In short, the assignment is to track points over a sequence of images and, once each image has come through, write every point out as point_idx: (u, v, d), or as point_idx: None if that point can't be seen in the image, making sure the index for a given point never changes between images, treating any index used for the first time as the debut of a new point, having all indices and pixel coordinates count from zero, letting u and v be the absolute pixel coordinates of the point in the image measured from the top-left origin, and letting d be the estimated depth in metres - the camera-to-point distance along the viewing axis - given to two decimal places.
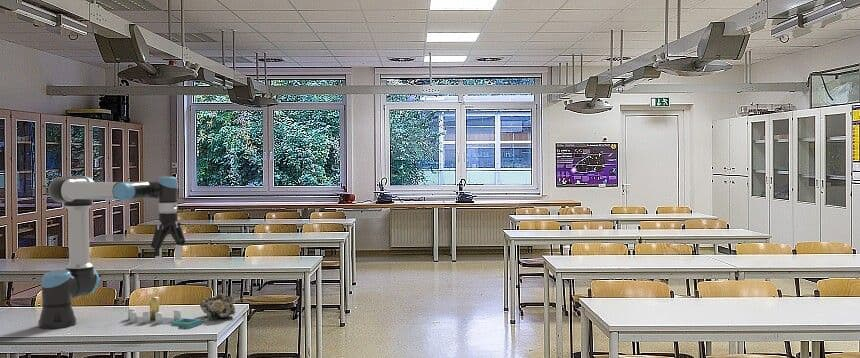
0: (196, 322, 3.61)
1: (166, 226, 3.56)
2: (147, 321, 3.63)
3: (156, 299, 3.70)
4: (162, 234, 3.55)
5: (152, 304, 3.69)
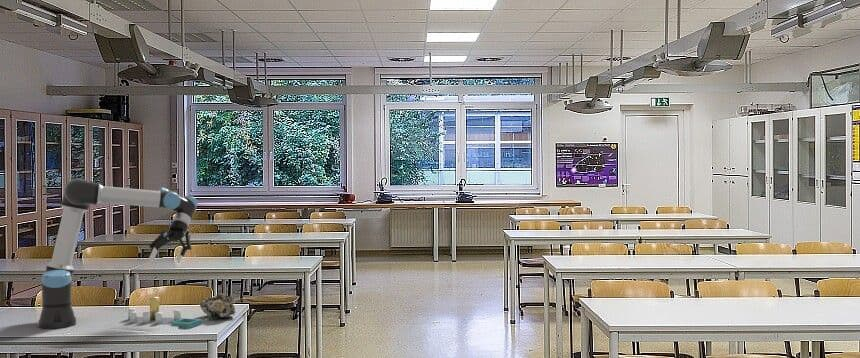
0: (196, 322, 3.61)
1: None
2: (147, 321, 3.63)
3: (156, 299, 3.70)
4: None
5: (152, 304, 3.69)
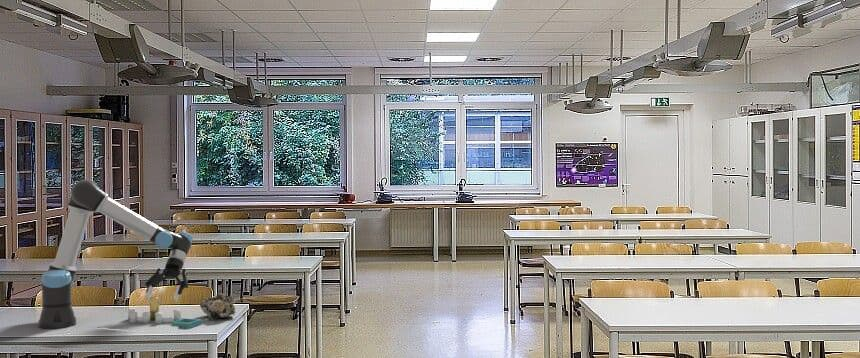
0: (196, 322, 3.61)
1: None
2: (147, 321, 3.63)
3: (156, 299, 3.70)
4: None
5: (152, 304, 3.69)
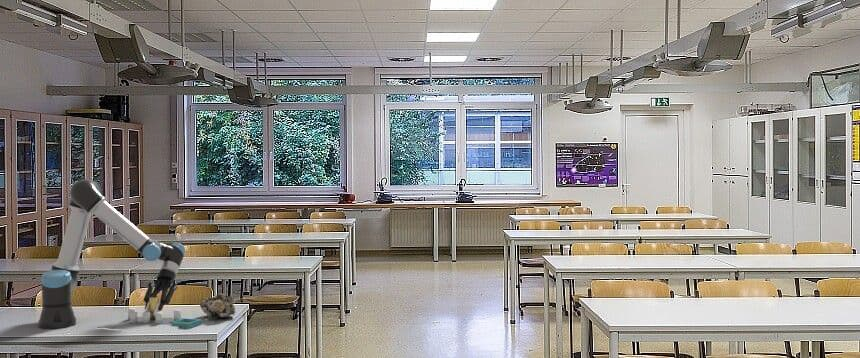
0: (196, 322, 3.61)
1: None
2: (147, 321, 3.63)
3: (156, 299, 3.70)
4: (166, 291, 3.76)
5: (152, 304, 3.69)
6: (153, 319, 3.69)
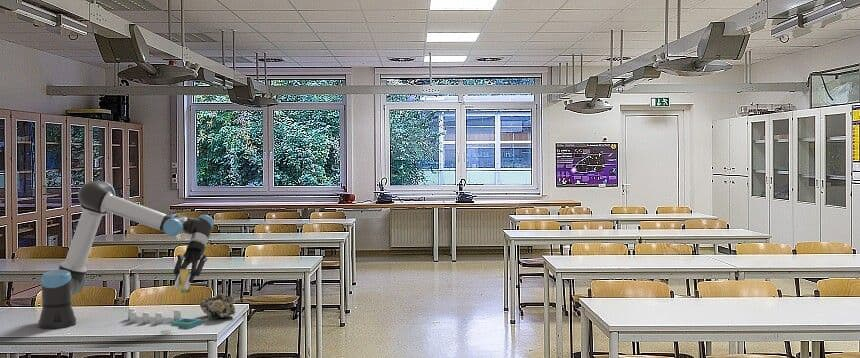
0: (196, 322, 3.61)
1: None
2: (147, 321, 3.63)
3: (186, 271, 3.61)
4: (196, 263, 3.67)
5: (183, 276, 3.60)
6: (184, 291, 3.61)
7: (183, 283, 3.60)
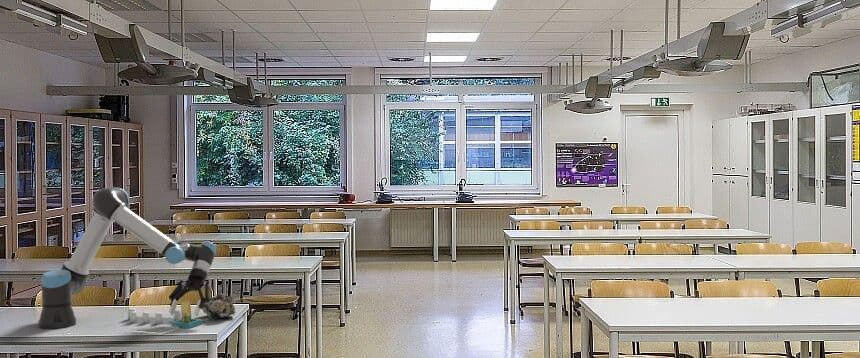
0: (196, 322, 3.61)
1: None
2: (147, 321, 3.63)
3: (188, 303, 3.60)
4: (201, 290, 3.67)
5: (184, 308, 3.59)
6: None
7: (184, 315, 3.60)
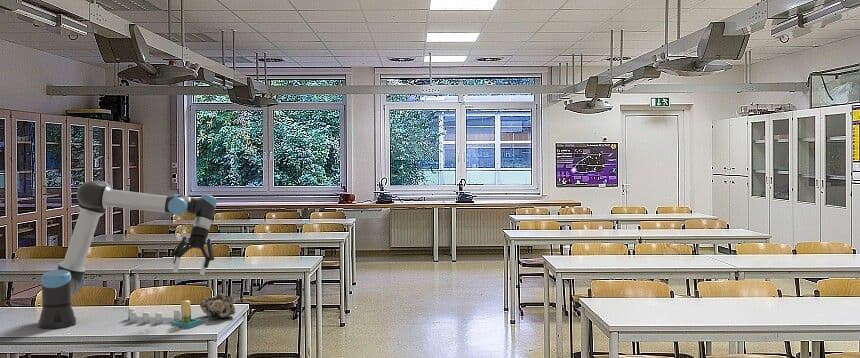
0: (196, 322, 3.61)
1: None
2: (147, 321, 3.63)
3: (188, 303, 3.60)
4: (204, 248, 3.75)
5: (184, 308, 3.60)
6: None
7: (184, 315, 3.60)
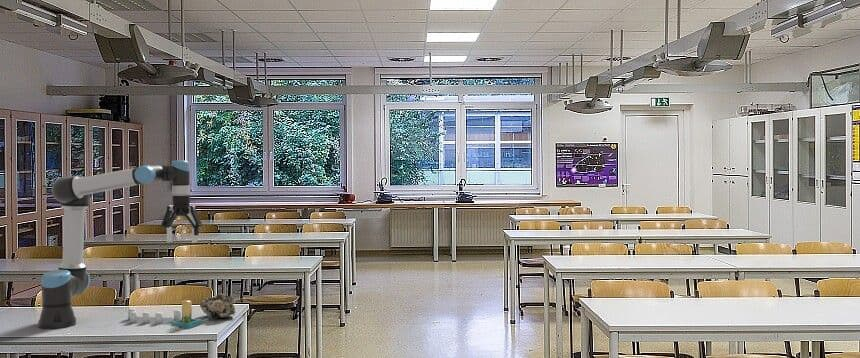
0: (196, 322, 3.61)
1: None
2: (147, 321, 3.63)
3: (189, 303, 3.60)
4: (189, 215, 3.73)
5: (185, 308, 3.60)
6: None
7: (185, 315, 3.60)
